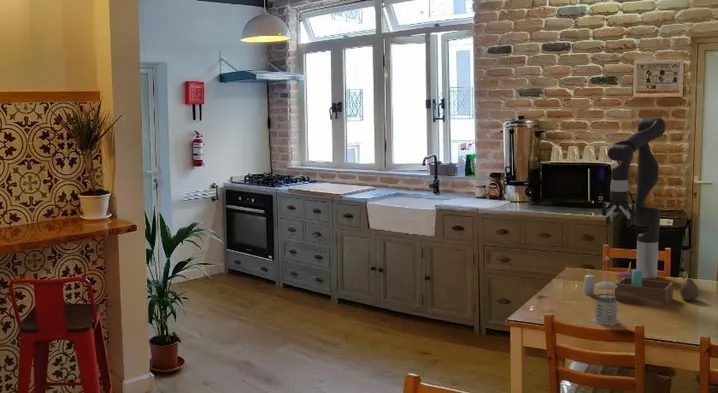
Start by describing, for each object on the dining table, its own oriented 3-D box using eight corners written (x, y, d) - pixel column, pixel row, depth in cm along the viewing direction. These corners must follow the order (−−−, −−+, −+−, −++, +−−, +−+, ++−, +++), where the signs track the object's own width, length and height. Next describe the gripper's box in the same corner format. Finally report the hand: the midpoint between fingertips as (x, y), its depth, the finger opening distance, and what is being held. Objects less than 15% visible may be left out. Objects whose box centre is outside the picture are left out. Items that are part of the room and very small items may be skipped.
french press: (613, 316, 278) (614, 253, 275) (625, 325, 266) (627, 260, 263) (588, 317, 277) (589, 254, 274) (599, 326, 266) (600, 260, 263)
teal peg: (632, 296, 305) (633, 269, 304) (642, 298, 303) (643, 270, 302) (630, 298, 302) (630, 271, 301) (639, 300, 300) (640, 272, 298)
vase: (700, 302, 295) (700, 281, 294) (682, 301, 296) (682, 281, 295) (695, 298, 302) (696, 277, 301) (678, 297, 303) (679, 277, 302)
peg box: (623, 292, 312) (624, 276, 311) (672, 298, 301) (673, 282, 300) (614, 299, 301) (615, 283, 300) (664, 306, 289) (665, 290, 289)
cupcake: (632, 284, 325) (633, 259, 324) (638, 289, 317) (638, 263, 315) (613, 284, 326) (613, 259, 325) (618, 289, 318) (618, 263, 316)
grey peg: (586, 292, 314) (586, 274, 313) (595, 293, 312) (595, 275, 311) (583, 294, 311) (583, 276, 310) (592, 295, 308) (592, 277, 307)
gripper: (638, 189, 314) (637, 226, 316) (605, 188, 322) (604, 223, 324) (633, 191, 308) (632, 228, 310) (600, 189, 316) (599, 226, 318)
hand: (618, 226), depth 317 cm, fingers open, 8 cm apart
